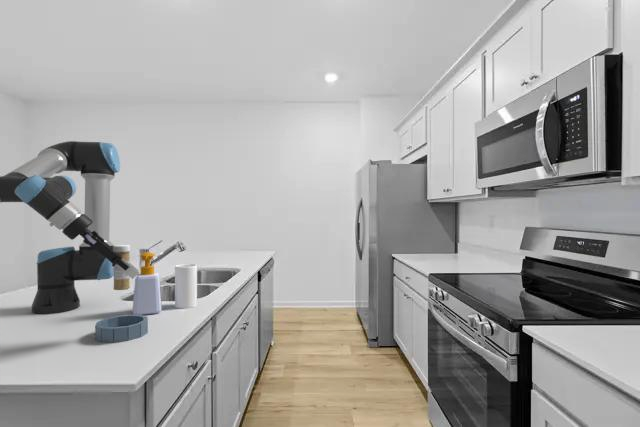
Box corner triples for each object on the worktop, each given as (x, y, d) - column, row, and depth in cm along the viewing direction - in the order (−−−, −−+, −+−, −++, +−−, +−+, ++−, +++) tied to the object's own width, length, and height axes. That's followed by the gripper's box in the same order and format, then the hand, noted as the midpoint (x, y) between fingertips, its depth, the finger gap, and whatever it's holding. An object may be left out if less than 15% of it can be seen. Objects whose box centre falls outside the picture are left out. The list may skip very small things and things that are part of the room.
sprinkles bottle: (123, 287, 118) (123, 244, 118) (133, 288, 116) (133, 244, 116) (109, 289, 114) (109, 245, 114) (120, 291, 112) (119, 246, 112)
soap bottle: (130, 319, 130) (130, 255, 130) (134, 309, 143) (134, 251, 143) (160, 317, 134) (160, 254, 134) (161, 307, 147) (161, 250, 146)
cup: (184, 309, 144) (184, 267, 144) (170, 306, 148) (170, 265, 148) (201, 305, 151) (201, 265, 151) (187, 302, 155) (187, 263, 155)
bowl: (87, 335, 114) (87, 322, 114) (133, 324, 125) (133, 312, 125) (109, 345, 106) (109, 331, 105) (156, 332, 117) (156, 319, 117)
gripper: (63, 229, 115) (124, 279, 123) (56, 232, 100) (127, 288, 108) (84, 212, 117) (142, 261, 126) (80, 212, 102) (147, 269, 111)
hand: (135, 274), depth 117 cm, fingers closed on sprinkles bottle, 4 cm apart
